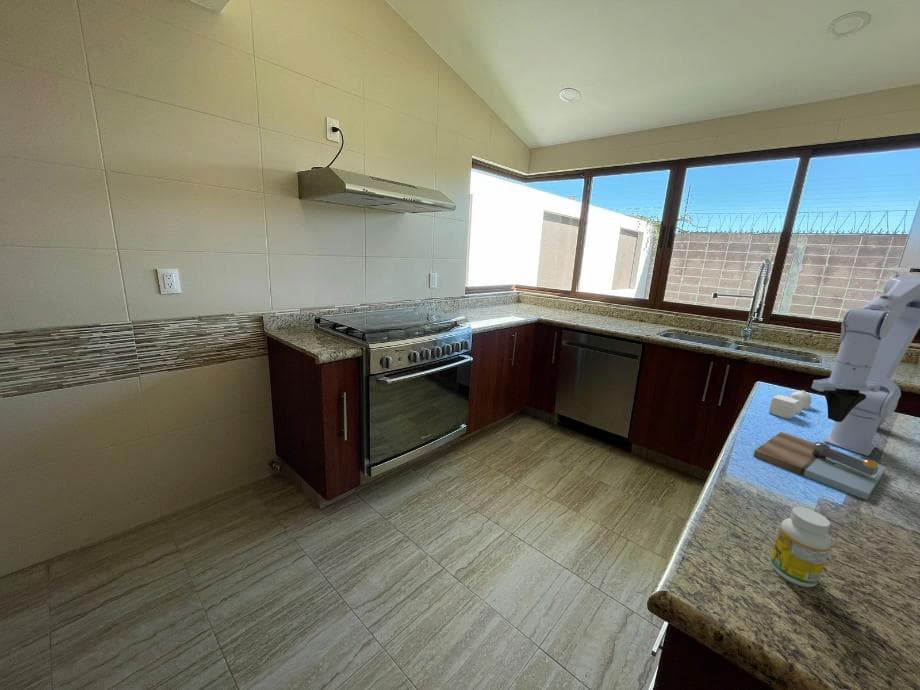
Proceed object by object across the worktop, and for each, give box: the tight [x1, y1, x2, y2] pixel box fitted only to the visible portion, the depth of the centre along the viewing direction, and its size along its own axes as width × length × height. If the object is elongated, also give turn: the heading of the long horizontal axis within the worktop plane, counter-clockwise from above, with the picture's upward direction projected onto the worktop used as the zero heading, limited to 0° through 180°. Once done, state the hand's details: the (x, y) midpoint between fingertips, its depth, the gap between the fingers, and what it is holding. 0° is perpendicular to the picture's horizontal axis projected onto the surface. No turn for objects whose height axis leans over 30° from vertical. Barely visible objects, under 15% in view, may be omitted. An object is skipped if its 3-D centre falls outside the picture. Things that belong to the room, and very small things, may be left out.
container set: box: [768, 389, 812, 420], centre depth 115 cm, size 20×5×6 cm, turn 123°
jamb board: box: [753, 431, 818, 476], centre depth 88 cm, size 18×9×2 cm, turn 125°
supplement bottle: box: [769, 506, 832, 588], centre depth 54 cm, size 5×5×10 cm
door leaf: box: [802, 447, 887, 501], centre depth 81 cm, size 18×10×2 cm, turn 125°
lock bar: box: [812, 441, 879, 476], centre depth 81 cm, size 10×2×3 cm, turn 22°
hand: (834, 419), depth 86 cm, fingers closed
